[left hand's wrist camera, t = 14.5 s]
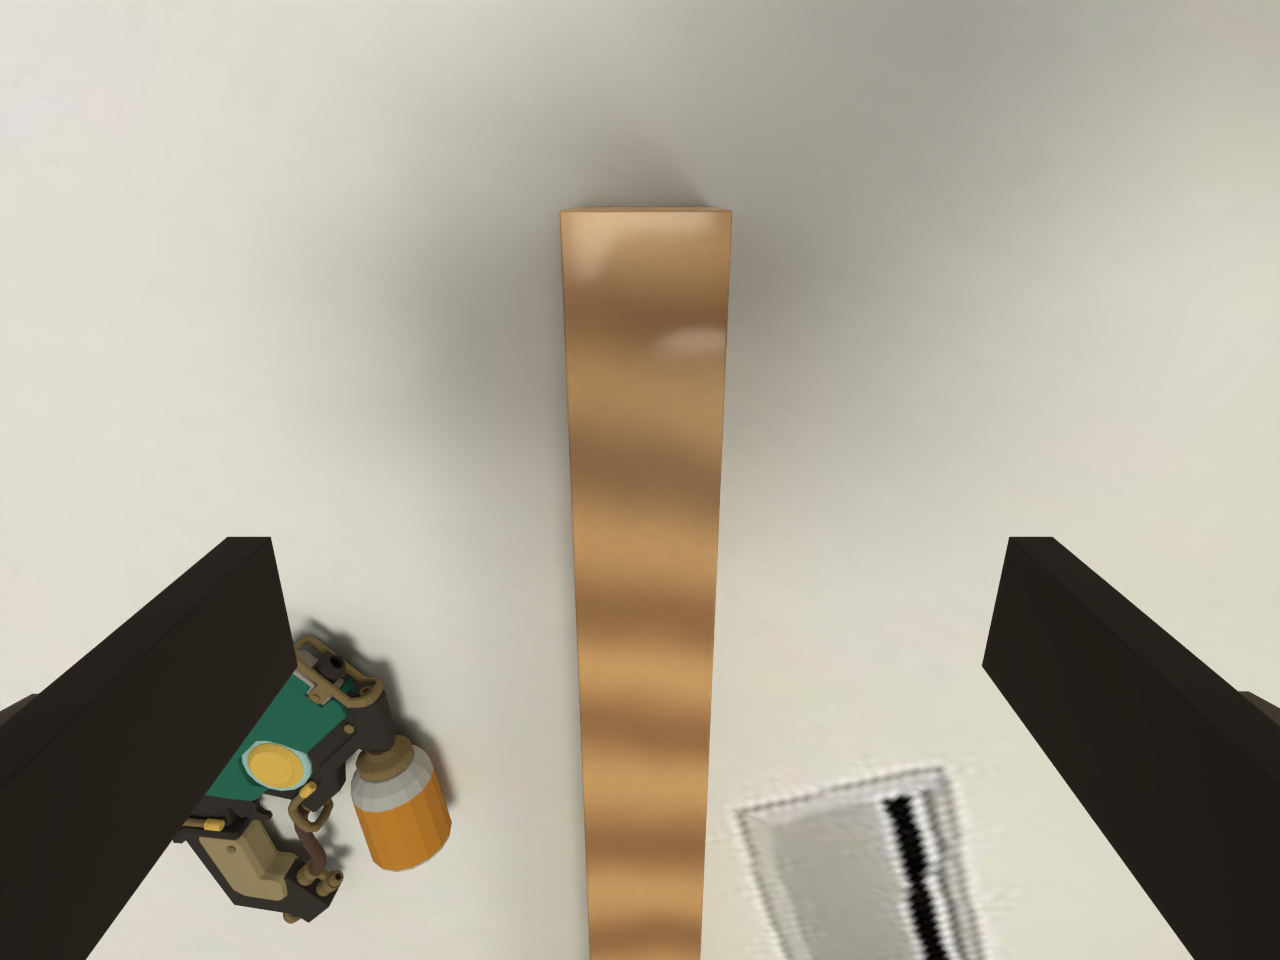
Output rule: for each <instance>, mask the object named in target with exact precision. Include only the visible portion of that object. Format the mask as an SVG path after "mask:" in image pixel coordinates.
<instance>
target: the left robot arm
mask: <svg viewBox="0 0 1280 960" xmlns="http://www.w3.org/2000/svg"><path fill="white" fill-rule="evenodd" d="M297 667H298V663H297V659H296V654H295V649H294V645H293V640H292V635H291V630H290V626H289V621H288V616H287V612H286V607H285V602H284V597H283V593H282V588H281V583H280V579H279V574H278V569H277V564H276V560H275V555H274V550H273V546H272V541H271V537H227V538H226V539H224V540H223V541H222V542H221V543H220V544H218V545H217V546H216V547H215V548H214V549H212V550H211V551H210V552H209V553H208V554H206V555H205V556H204V557H203V558H202V559H200V560H199V561H198V562H197V563H196V564H194V565H193V566H192V567H191V568H190V569H188V570H187V571H186V572H185V573H184V574H182V575H181V576H180V577H179V578H178V579H176V580H175V581H174V582H173V583H172V584H170V585H169V586H168V587H167V588H166V589H164V590H163V591H162V592H161V593H160V594H158V595H157V596H156V597H155V598H154V599H152V600H151V601H150V602H149V603H148V604H146V605H145V606H144V607H143V608H142V609H140V610H139V611H138V612H137V613H136V614H134V615H133V616H132V617H131V618H130V619H128V620H127V621H126V622H125V623H124V624H122V625H121V626H120V627H119V628H118V629H116V630H115V631H114V632H113V633H112V634H110V635H109V636H108V637H107V638H106V639H104V640H103V641H102V642H101V643H100V644H98V645H97V646H96V647H95V648H94V649H92V650H91V651H90V652H89V653H88V654H86V655H85V656H84V657H83V658H82V659H80V660H79V661H78V662H77V663H76V664H74V665H73V666H72V667H71V668H70V669H68V670H67V671H66V672H65V673H64V674H62V675H61V676H60V677H59V678H58V679H56V680H55V681H54V682H53V683H51V684H50V685H49V686H48V687H47V688H45V689H44V690H43V691H42V692H41V693H39V694H31V695H29V696H27V697H26V698H24V699H22V700H20V701H18V702H16V703H15V704H13V705H11V706H9V707H7V708H6V709H4V710H2V711H0V960H86V959H87V957H88V956H89V954H90V953H91V952H92V950H93V949H94V947H95V946H96V945H97V943H98V942H99V941H100V939H101V938H102V936H103V935H104V934H105V932H106V931H107V929H108V928H109V927H110V925H111V924H112V923H113V921H114V920H115V918H116V917H117V916H118V914H119V913H120V912H121V910H122V909H123V907H124V906H125V905H126V903H127V902H128V900H129V899H130V898H131V896H132V895H133V894H134V892H135V891H136V889H137V888H138V887H139V885H140V884H141V882H142V881H143V880H144V878H145V877H146V876H147V874H148V873H149V871H150V870H151V869H152V867H153V866H154V865H155V863H156V862H157V860H158V859H159V858H160V856H161V855H162V853H163V852H164V851H165V849H166V848H167V847H168V845H169V844H170V842H171V841H172V840H173V838H174V837H175V835H176V834H177V833H178V831H179V830H180V829H181V827H182V826H183V824H184V823H185V822H186V820H187V819H188V818H189V816H190V815H191V813H192V812H193V811H194V809H195V808H196V806H197V805H198V804H199V802H200V801H201V800H202V798H203V797H204V795H205V794H206V793H207V791H208V790H209V789H210V787H211V786H212V784H213V783H214V782H215V780H216V779H217V777H218V776H219V775H220V773H221V772H222V771H223V769H224V768H225V766H226V765H227V764H228V762H229V761H230V759H231V758H232V757H233V755H234V754H235V753H236V751H237V750H238V748H239V747H240V746H241V744H242V743H243V742H244V740H245V739H246V737H247V736H248V735H249V733H250V732H251V730H252V729H253V728H254V726H255V725H256V724H257V722H258V721H259V719H260V718H261V717H262V715H263V714H264V712H265V711H266V710H267V708H268V707H269V706H270V704H271V703H272V701H273V700H274V699H275V697H276V696H277V695H278V693H279V692H280V690H281V689H282V688H283V686H284V685H285V683H286V682H287V681H288V679H289V678H290V677H291V675H292V674H293V672H294V671H295V670H296V668H297ZM982 667H983V668H984V670H985V671H986V672H987V674H988V675H989V677H990V678H991V679H992V681H993V682H994V683H995V685H996V686H997V688H998V689H999V690H1000V692H1001V693H1002V695H1003V696H1004V697H1005V699H1006V700H1007V701H1008V703H1009V704H1010V706H1011V707H1012V708H1013V710H1014V711H1015V712H1016V714H1017V715H1018V717H1019V718H1020V719H1021V721H1022V722H1023V724H1024V725H1025V726H1026V728H1027V729H1028V730H1029V732H1030V733H1031V735H1032V736H1033V737H1034V739H1035V740H1036V742H1037V743H1038V744H1039V746H1040V747H1041V748H1042V750H1043V751H1044V753H1045V754H1046V755H1047V757H1048V758H1049V759H1050V761H1051V762H1052V764H1053V765H1054V766H1055V768H1056V769H1057V771H1058V772H1059V773H1060V775H1061V776H1062V777H1063V779H1064V780H1065V782H1066V783H1067V784H1068V786H1069V787H1070V789H1071V790H1072V791H1073V793H1074V794H1075V795H1076V797H1077V798H1078V800H1079V801H1080V802H1081V804H1082V805H1083V806H1084V808H1085V809H1086V811H1087V812H1088V813H1089V815H1090V816H1091V818H1092V819H1093V820H1094V822H1095V823H1096V824H1097V826H1098V827H1099V829H1100V830H1101V831H1102V833H1103V834H1104V835H1105V837H1106V838H1107V840H1108V841H1109V842H1110V844H1111V845H1112V847H1113V848H1114V849H1115V851H1116V852H1117V853H1118V855H1119V856H1120V858H1121V859H1122V860H1123V862H1124V863H1125V865H1126V866H1127V867H1128V869H1129V870H1130V871H1131V873H1132V874H1133V876H1134V877H1135V878H1136V880H1137V881H1138V882H1139V884H1140V885H1141V887H1142V888H1143V889H1144V891H1145V892H1146V894H1147V895H1148V896H1149V898H1150V899H1151V900H1152V902H1153V903H1154V905H1155V906H1156V907H1157V909H1158V910H1159V912H1160V913H1161V914H1162V916H1163V917H1164V918H1165V920H1166V921H1167V923H1168V924H1169V925H1170V927H1171V928H1172V929H1173V931H1174V932H1175V934H1176V935H1177V936H1178V938H1179V939H1180V941H1181V942H1182V943H1183V945H1184V946H1185V947H1186V949H1187V950H1188V952H1189V953H1190V954H1191V956H1192V957H1193V959H1194V960H1280V708H1278V707H1276V706H1275V705H1273V704H1271V703H1269V702H1267V701H1265V700H1264V699H1262V698H1260V697H1258V696H1256V695H1254V694H1252V693H1251V692H1249V691H1237V690H1236V689H1235V688H1233V687H1232V686H1231V685H1230V684H1229V683H1227V682H1226V681H1225V680H1224V679H1222V678H1221V677H1220V676H1219V675H1218V674H1216V673H1215V672H1214V671H1213V670H1212V669H1210V668H1209V667H1208V666H1207V665H1206V664H1204V663H1203V662H1202V661H1201V660H1200V659H1198V658H1197V657H1196V656H1195V655H1194V654H1192V653H1191V652H1190V651H1189V650H1188V649H1186V648H1185V647H1184V646H1183V645H1182V644H1180V643H1179V642H1178V641H1177V640H1176V639H1174V638H1173V637H1172V636H1171V635H1170V634H1168V633H1167V632H1166V631H1165V630H1164V629H1162V628H1161V627H1160V626H1159V625H1158V624H1156V623H1155V622H1154V621H1153V620H1152V619H1150V618H1149V617H1148V616H1147V615H1146V614H1144V613H1143V612H1142V611H1141V610H1140V609H1138V608H1137V607H1136V606H1135V605H1134V604H1132V603H1131V602H1130V601H1129V600H1128V599H1126V598H1125V597H1124V596H1123V595H1122V594H1120V593H1119V592H1118V591H1117V590H1116V589H1114V588H1113V587H1112V586H1111V585H1110V584H1108V583H1107V582H1106V581H1105V580H1104V579H1102V578H1101V577H1100V576H1099V575H1098V574H1096V573H1095V572H1094V571H1093V570H1092V569H1090V568H1089V567H1088V566H1087V565H1086V564H1084V563H1083V562H1082V561H1081V560H1080V559H1078V558H1077V557H1076V556H1075V555H1074V554H1072V553H1071V552H1070V551H1069V550H1068V549H1066V548H1065V547H1064V546H1063V545H1062V544H1060V543H1059V542H1058V541H1057V540H1056V539H1054V538H1053V537H1009V541H1008V546H1007V550H1006V555H1005V560H1004V564H1003V569H1002V574H1001V579H1000V583H999V588H998V593H997V597H996V602H995V607H994V612H993V616H992V621H991V626H990V630H989V635H988V640H987V645H986V649H985V654H984V659H983V663H982Z"/></svg>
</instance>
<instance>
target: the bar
mask: <svg viewBox="0 0 1280 960" xmlns="http://www.w3.org/2000/svg"><path fill="white" fill-rule="evenodd" d="M731 224H732V211H731V210H725V209H720V208H715V207H577V208H572V209H567V210H563V211H560V232H561V256H562V281H563V305H564V330H565V354H566V379H567V403H568V428H569V453H570V477H571V502H572V526H573V551H574V575H575V600H576V624H577V649H578V673H579V698H580V722H581V747H582V772H583V796H584V821H585V845H586V870H587V894H588V919H589V943H590V960H700V953H701V929H702V906H703V882H704V859H705V835H706V812H707V788H708V765H709V741H710V718H711V694H712V671H713V647H714V624H715V600H716V577H717V553H718V530H719V506H720V483H721V459H722V436H723V412H724V389H725V365H726V342H727V318H728V295H729V271H730V248H731Z"/></svg>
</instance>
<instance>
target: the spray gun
mask: <svg viewBox="0 0 1280 960" xmlns="http://www.w3.org/2000/svg"><path fill="white" fill-rule="evenodd" d="M303 644H308V645H310V646H312V647H313V648H314V649H316V650H317V651H318V652H320V653H321V654H322V655H324V656H323V657H322V658H321V659H320V660H318V659H317V658H316V657H314V656H313V655H312V654H311V653H309V652H308V651H306V650H300V649H298V648H299V647H300V646H301V645H303ZM294 649H295V654H296V659H297V663H298V667H297V668H296V670H295V671H294V672H293V674H292V675H291V677H290V678H289V679H288V681H287V682H286V683H285V685H284V686H283V688H282V689H281V690H280V692H279V693H278V695H277V696H276V697H275V699H274V700H273V701H272V703H271V704H270V706H269V707H268V708H267V710H266V711H265V712H264V714H263V715H262V717H261V718H260V719H259V721H258V722H257V724H256V725H255V726H254V728H253V729H252V730H251V732H250V733H249V735H248V736H247V737H246V739H245V740H244V742H243V743H242V744H241V746H240V747H239V748H238V750H237V751H236V753H235V754H234V755H233V757H232V758H231V759H230V761H229V762H228V764H227V765H226V766H225V768H224V769H223V771H222V772H221V773H220V775H219V776H218V777H217V779H216V780H215V782H214V783H213V784H212V786H211V787H210V789H209V790H208V791H207V793H206V794H205V795H204V797H203V798H202V800H201V801H200V802H199V804H198V805H197V806H196V808H195V809H194V811H193V812H192V813H191V815H190V816H189V818H188V819H187V820H186V822H185V823H184V824H183V826H182V827H181V829H180V830H179V831H178V833H177V834H176V835H175V837H174V838H173V842H174V843H183V842H184V841H185V840H186V841H187V842H188V844H189V845H190V846H191V848H192V849H193V850H194V852H195V853H196V854H197V856H198V857H199V858H200V860H201V861H202V862H203V864H204V865H205V866H206V868H207V869H208V870H209V872H210V873H211V874H212V876H213V877H214V878H215V880H216V881H217V882H218V884H219V885H220V886H221V888H222V889H223V890H224V892H225V893H226V894H227V896H228V897H229V898H230V900H231V901H232V902H233V904H234V905H239V906H245V907H252V908H258V909H264V910H271V911H277V912H283V918H284V920H285V921H286V922H287V923H294V922H296V921H298V920H299V919H301V918H302V919H304V920H305V921H307V922H310V921H312V920H313V919H314V918H315V917H317V916H318V915H319V914H320V913H322V912H323V911H324V910H325V909H327V908H328V907H329V906H330V904H331V902H332V900H333V898H334V896H335V894H336V892H337V890H338V888H339V886H340V884H341V882H342V881H343V873H342V872H341V871H340V870H335V871H331V872H329V873H328V872H327V871H325V870H324V866H325V863H326V854H325V852H324V850H323V848H322V846H321V845H320V844H319V842H318V841H317V839H316V838H315V836H314V834H313V833H312V832H317V831H319V829H320V828H321V827H322V826H323V824H324V823H325V822H326V821H327V819H328V817H329V815H330V813H331V811H332V808H333V802H332V799H331V798H332V797H333V796H334V795H335V794H336V793H337V792H338V791H339V790H340V789H341V788H342V786H343V785H344V783H345V781H346V770H345V761H346V760H347V759H348V758H349V757H350V756H351V755H352V754H353V753H355V752H356V751H357V750H358V749H360V750H362V752H361V753H360V754H359V755H358V758H357V761H356V767H357V770H356V771H355V773H354V776H353V779H352V782H351V796H352V800H353V804H354V807H355V810H356V813H357V816H358V819H359V821H360V824H361V827H362V830H363V833H364V836H365V839H366V842H367V845H368V848H369V851H370V853H371V856H372V859H373V862H375V863H376V864H377V865H378V866H380V867H381V868H382V869H384V870H388V871H395V872H399V871H404V870H409V869H414V868H416V867H417V866H419V865H421V864H423V863H425V862H427V861H429V860H430V859H431V858H432V857H433V856H435V855H436V854H437V853H438V852H439V851H440V850H441V849H442V848H443V846H444V844H445V843H446V841H447V840H448V838H449V835H450V829H451V823H452V822H451V819H450V816H449V813H448V809H447V806H446V803H445V800H444V797H443V794H442V791H441V788H440V785H439V782H438V779H437V776H436V773H435V770H434V767H433V764H432V762H431V760H430V758H429V756H428V755H427V754H426V752H425V751H424V750H423V749H421V748H419V747H418V746H416V745H412V743H411V741H410V739H408V738H407V737H405V736H403V735H395V730H394V726H393V722H392V718H391V714H390V710H389V706H388V702H387V698H386V694H385V691H384V690H383V684H382V681H381V679H380V678H379V677H365V676H364V675H363V674H361V673H360V672H359V671H358V670H356V669H355V668H354V667H353V666H351V665H350V664H349V663H347V662H346V661H345V660H344V659H343V658H342V657H341V656H339V655H337V654H336V653H335V652H333V651H332V650H331V649H330V648H328V647H327V646H326V645H325V644H323V643H322V642H321V641H320V640H318V639H317V638H315V637H313V636H304V637H302V638H300V639H299V640H298V641H297V642H296V643H295V644H294ZM346 674H348V675H349V676H351V677H352V678H353V679H355V680H356V681H357V682H358V683H360V684H361V685H374V688H373V689H372V688H371V687H364V688H362V689H361V690H360V691H359V693H355V692H354V682H353V680H352V679H350V678H346V679H344V680H343V679H342V677H343V676H345V675H346ZM263 793H265V794H269V795H273V796H277V797H282V798H286V799H290V800H291V802H290V804H289V807H288V812H289V816H290V817H291V819H292V821H293V822H294V826H295V831H296V833H297V835H298V837H299V839H300V841H301V843H302V845H303V846H304V848H305V849H306V851H307V852H308V853H309V855H310V856H311V858H312V859H310V860H309V861H308V862H306V863H305V862H303V861H302V860H301V859H299V858H298V857H297V856H296V855H295V854H294V853H289V852H280V851H277V849H276V848H275V846H274V844H273V843H272V841H271V839H270V837H269V836H268V834H267V832H266V830H265V828H264V827H263V825H262V823H261V821H260V820H268V819H270V818H271V817H272V813H271V811H268V810H265V809H264V808H262V807H261V806H260V804H259V800H258V798H259V797H260V796H261V795H262V794H263ZM321 806H324V808H323V810H322V812H321V814H320V816H319V817H318V818H317V820H316V821H315V822H312V823H311V822H310V821H308V814H309V812H310V811H312V812H315V811H317V810H318V809H319V808H320V807H321Z"/></svg>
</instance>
